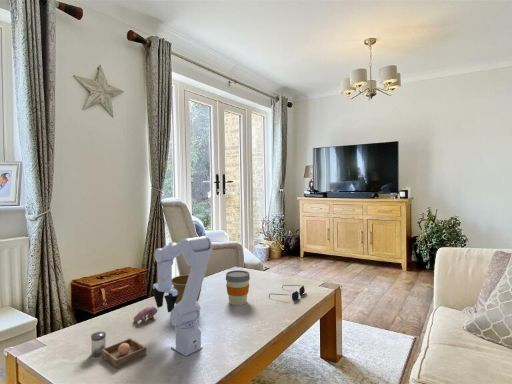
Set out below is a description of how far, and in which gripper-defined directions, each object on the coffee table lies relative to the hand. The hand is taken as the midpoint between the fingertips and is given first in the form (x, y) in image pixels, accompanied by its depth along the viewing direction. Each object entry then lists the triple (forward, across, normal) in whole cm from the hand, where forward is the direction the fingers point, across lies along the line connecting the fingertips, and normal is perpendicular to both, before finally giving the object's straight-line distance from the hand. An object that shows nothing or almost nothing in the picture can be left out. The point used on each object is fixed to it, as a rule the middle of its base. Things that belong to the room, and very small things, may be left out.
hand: (165, 309), depth 133 cm
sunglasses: (+11, -14, -69) cm, 71 cm away
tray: (+10, -4, +20) cm, 23 cm away
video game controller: (+10, +18, -2) cm, 21 cm away
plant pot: (+10, +10, -19) cm, 24 cm away
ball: (+7, -4, +20) cm, 22 cm away
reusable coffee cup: (+10, 0, -44) cm, 45 cm away
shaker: (+10, +5, +25) cm, 27 cm away
